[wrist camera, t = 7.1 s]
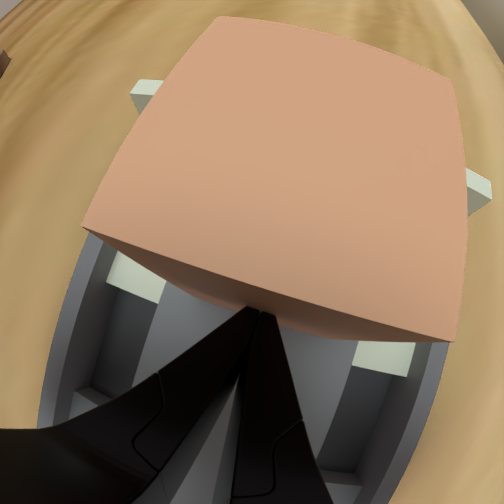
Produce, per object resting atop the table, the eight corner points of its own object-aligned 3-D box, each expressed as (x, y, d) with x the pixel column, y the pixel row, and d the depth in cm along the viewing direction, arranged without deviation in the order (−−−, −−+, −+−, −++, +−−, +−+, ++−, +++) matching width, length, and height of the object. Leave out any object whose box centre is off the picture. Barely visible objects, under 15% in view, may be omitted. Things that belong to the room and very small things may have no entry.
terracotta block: (326, 338, 12) (454, 342, 3) (194, 297, 13) (80, 225, 4) (356, 215, 14) (451, 80, 5) (238, 179, 14) (218, 16, 6)
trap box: (310, 564, 10) (324, 620, 4) (62, 480, 11) (9, 510, 6) (432, 225, 16) (490, 181, 10) (169, 147, 17) (139, 79, 11)
